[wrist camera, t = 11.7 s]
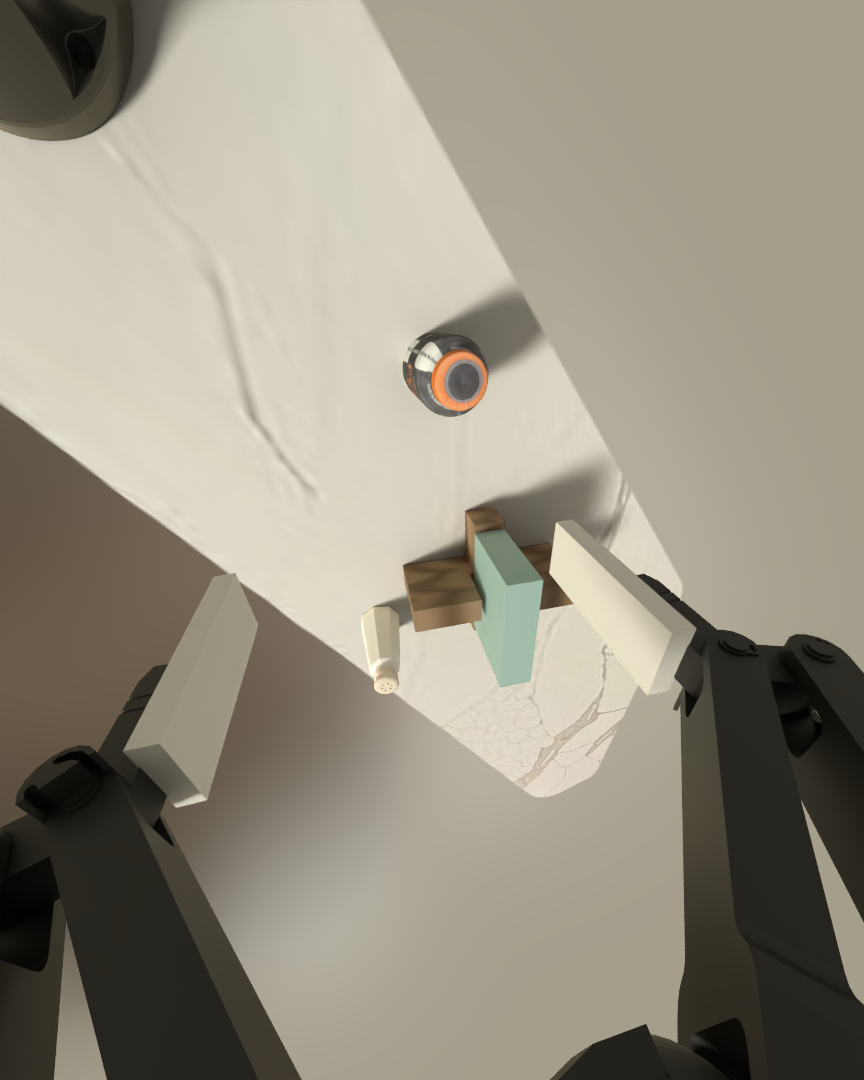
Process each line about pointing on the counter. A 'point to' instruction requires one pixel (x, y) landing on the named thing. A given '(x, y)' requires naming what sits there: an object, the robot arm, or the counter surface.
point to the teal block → (506, 606)
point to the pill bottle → (446, 373)
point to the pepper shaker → (382, 647)
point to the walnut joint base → (468, 580)
